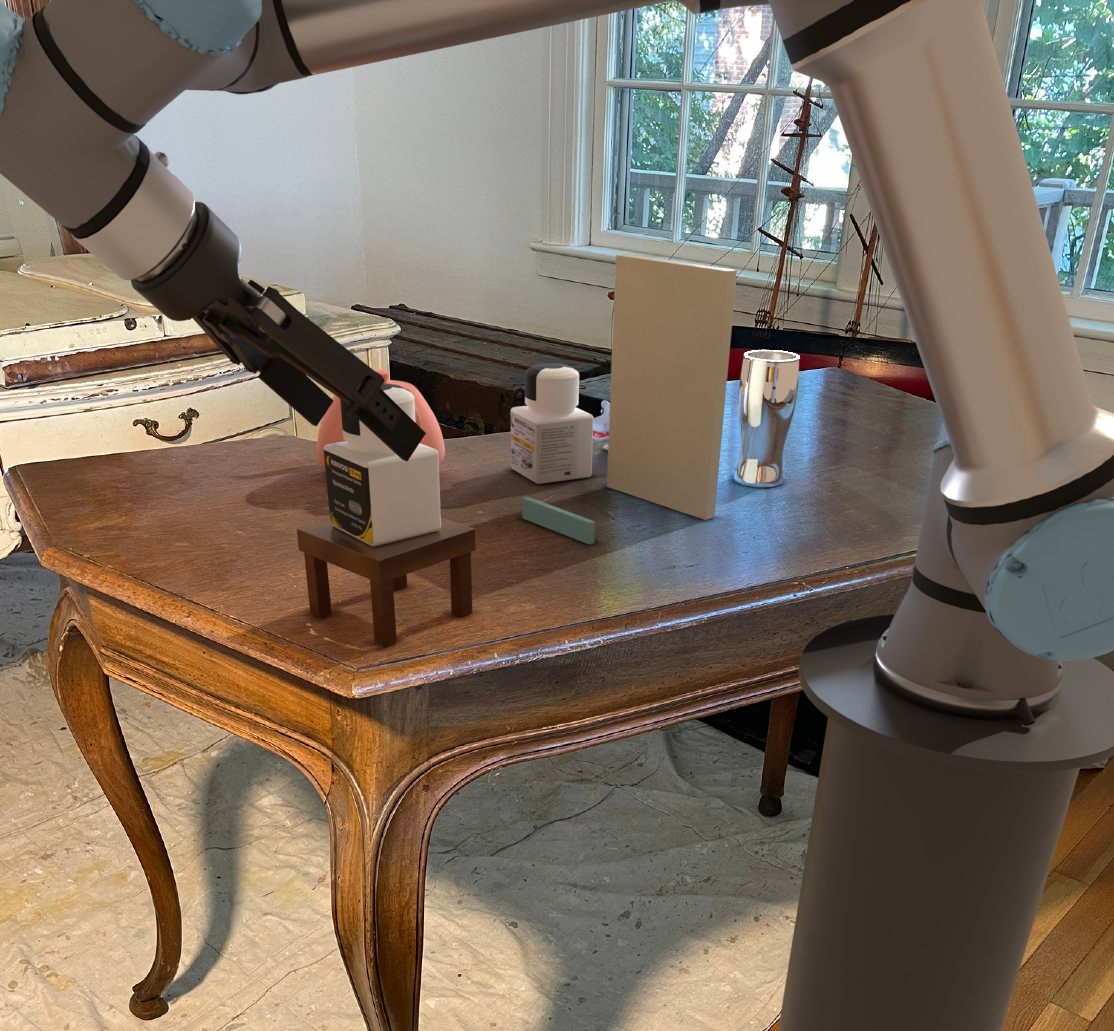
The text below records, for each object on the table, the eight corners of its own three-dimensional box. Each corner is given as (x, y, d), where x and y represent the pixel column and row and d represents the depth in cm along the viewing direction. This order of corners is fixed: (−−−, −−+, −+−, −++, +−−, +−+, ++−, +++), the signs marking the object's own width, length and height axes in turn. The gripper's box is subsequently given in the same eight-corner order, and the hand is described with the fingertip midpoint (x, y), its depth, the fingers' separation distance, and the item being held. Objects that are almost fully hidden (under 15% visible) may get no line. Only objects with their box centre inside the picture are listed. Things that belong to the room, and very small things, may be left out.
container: (510, 468, 140) (509, 362, 134) (563, 461, 143) (565, 357, 137) (537, 485, 134) (537, 375, 128) (592, 477, 137) (596, 370, 131)
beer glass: (755, 469, 142) (768, 347, 134) (797, 482, 137) (813, 356, 130) (718, 479, 138) (729, 354, 130) (761, 492, 133) (775, 363, 126)
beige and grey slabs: (714, 517, 125) (737, 270, 112) (605, 551, 115) (616, 283, 102) (615, 484, 135) (626, 254, 122) (507, 512, 125) (506, 265, 112)
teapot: (284, 460, 141) (273, 360, 135) (391, 443, 149) (386, 347, 143) (363, 506, 126) (355, 395, 120) (478, 484, 134) (476, 378, 128)
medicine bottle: (328, 526, 96) (316, 385, 90) (397, 510, 100) (390, 374, 94) (372, 548, 92) (361, 401, 86) (442, 531, 96) (437, 389, 90)
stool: (477, 612, 100) (475, 528, 96) (384, 650, 93) (378, 560, 89) (398, 581, 107) (393, 500, 103) (305, 613, 100) (296, 528, 96)
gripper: (286, 209, 67) (484, 421, 83) (118, 184, 83) (312, 366, 99) (217, 310, 66) (430, 503, 83) (62, 265, 82) (266, 435, 99)
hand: (366, 429), depth 91 cm, fingers open, 13 cm apart
